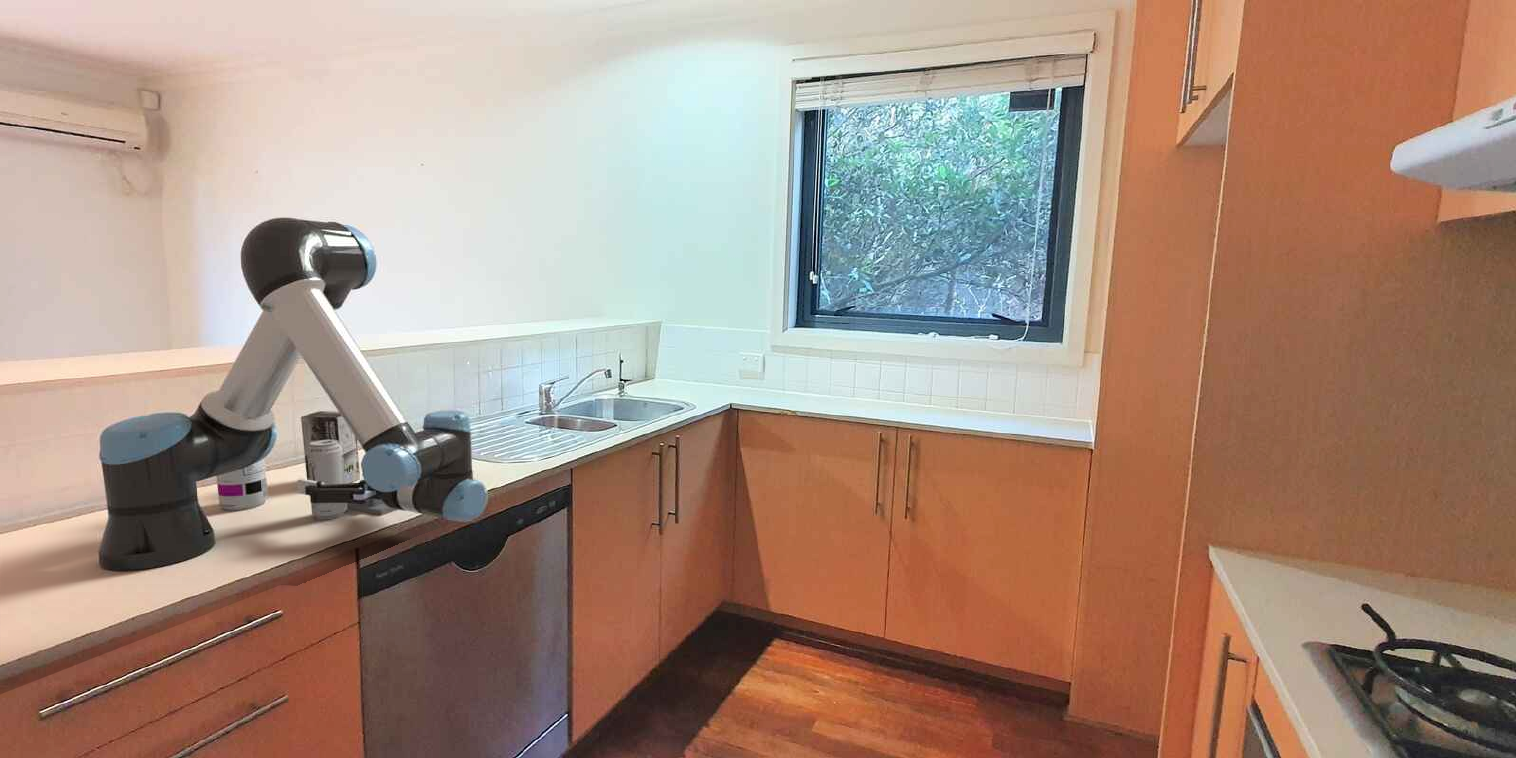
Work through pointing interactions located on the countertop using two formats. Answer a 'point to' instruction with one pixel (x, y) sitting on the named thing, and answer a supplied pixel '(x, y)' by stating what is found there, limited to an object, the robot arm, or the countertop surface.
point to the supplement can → (243, 487)
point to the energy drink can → (326, 474)
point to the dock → (371, 506)
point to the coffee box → (332, 428)
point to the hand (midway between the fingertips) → (334, 476)
